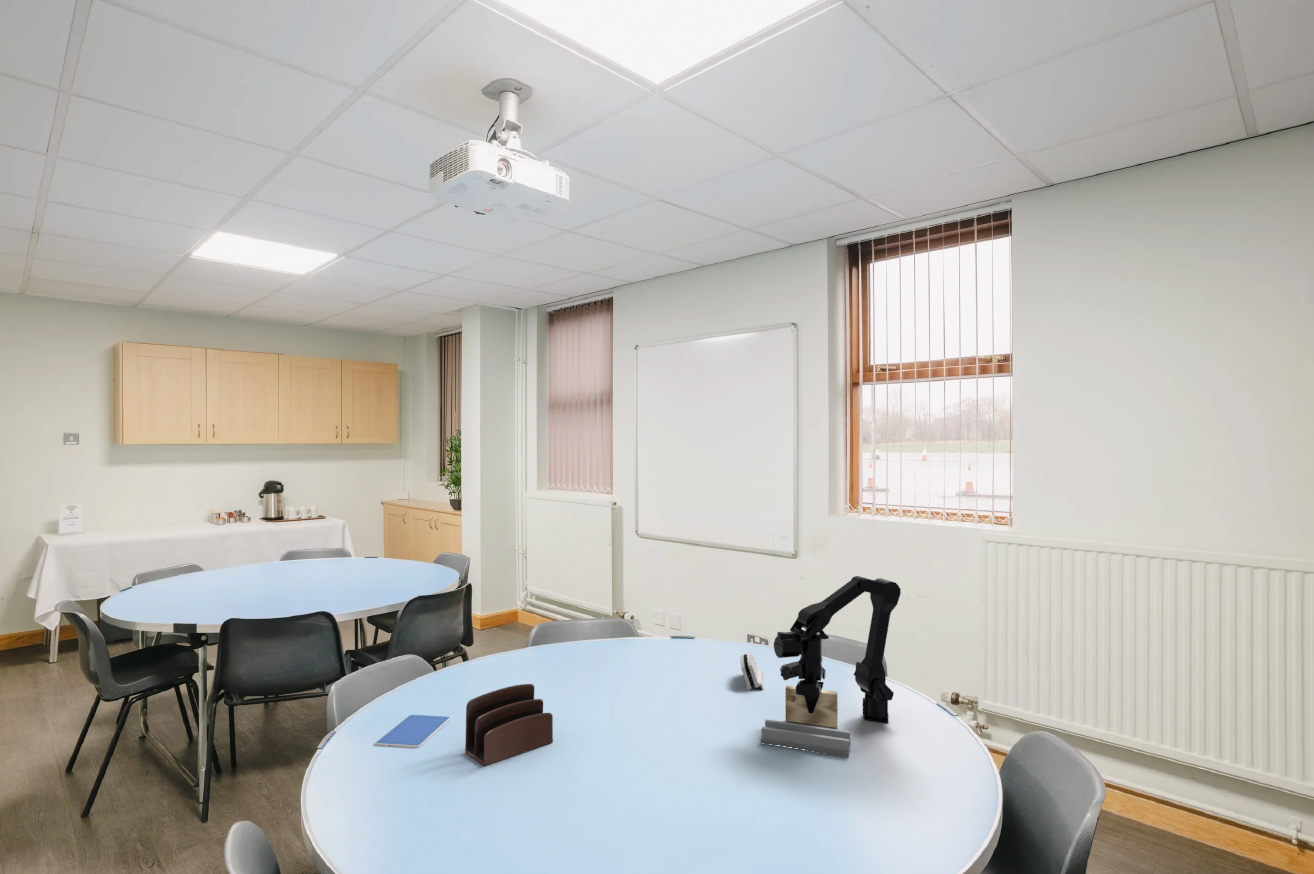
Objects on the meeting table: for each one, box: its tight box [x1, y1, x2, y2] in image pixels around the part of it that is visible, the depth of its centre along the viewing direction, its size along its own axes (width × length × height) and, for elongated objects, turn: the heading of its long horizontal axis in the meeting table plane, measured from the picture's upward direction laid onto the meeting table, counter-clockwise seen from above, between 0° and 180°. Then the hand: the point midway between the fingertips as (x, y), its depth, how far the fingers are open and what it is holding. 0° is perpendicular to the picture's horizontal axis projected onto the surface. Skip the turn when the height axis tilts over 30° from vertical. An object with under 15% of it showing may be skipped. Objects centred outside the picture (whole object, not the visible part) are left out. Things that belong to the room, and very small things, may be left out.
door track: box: [760, 719, 852, 758], centre depth 170 cm, size 22×9×4 cm, turn 70°
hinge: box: [739, 652, 765, 690], centre depth 219 cm, size 17×5×10 cm, turn 171°
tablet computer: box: [374, 714, 452, 749], centre depth 176 cm, size 19×13×1 cm, turn 173°
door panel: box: [785, 685, 839, 729], centre depth 182 cm, size 14×3×9 cm, turn 70°
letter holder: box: [464, 683, 554, 767], centre depth 166 cm, size 10×20×14 cm, turn 134°
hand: (811, 711), depth 182 cm, fingers closed on door panel, 2 cm apart
